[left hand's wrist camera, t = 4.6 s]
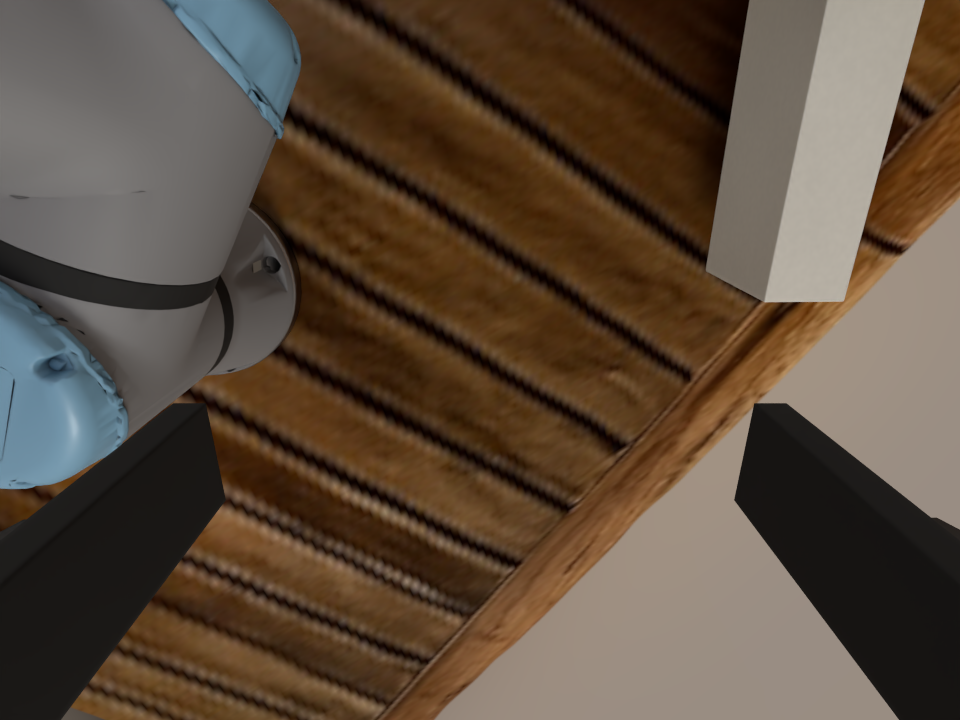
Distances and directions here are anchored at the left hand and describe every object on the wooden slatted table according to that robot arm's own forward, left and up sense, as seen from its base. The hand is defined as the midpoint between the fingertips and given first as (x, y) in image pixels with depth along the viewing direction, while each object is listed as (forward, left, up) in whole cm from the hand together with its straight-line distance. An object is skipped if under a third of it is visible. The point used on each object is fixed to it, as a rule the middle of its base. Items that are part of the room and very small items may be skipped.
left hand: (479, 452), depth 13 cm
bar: (+11, +19, -28) cm, 36 cm away
